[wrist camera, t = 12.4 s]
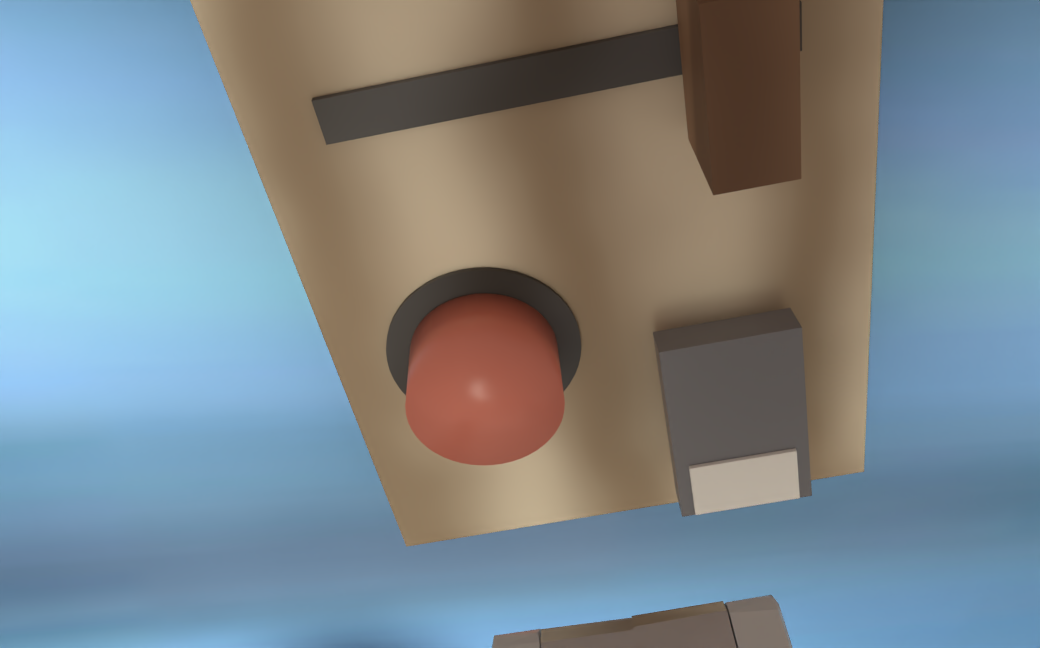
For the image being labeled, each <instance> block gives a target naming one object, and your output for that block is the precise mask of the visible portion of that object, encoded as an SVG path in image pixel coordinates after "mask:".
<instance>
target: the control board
mask: <svg viewBox="0 0 1040 648" xmlns="http://www.w3.org/2000/svg"><path fill="white" fill-rule="evenodd" d="M190 1H191V4H192V6H193V9H194V11H195V14H196V16H197V19H198V21H199V24H200V26H201V29H202V31H203V34H204V37H205V39H206V42H207V44H208V47H209V49H210V52H211V54H212V57H213V59H214V62H215V64H216V67H217V69H218V72H219V74H220V77H221V79H222V82H223V84H224V87H225V90H226V92H227V95H228V97H229V100H230V102H231V105H232V107H233V110H234V112H235V115H236V117H237V120H238V122H239V125H240V127H241V130H242V132H243V135H244V137H245V140H246V142H247V145H248V148H249V150H250V153H251V155H252V158H253V160H254V163H255V165H256V168H257V170H258V173H259V175H260V178H261V180H262V183H263V185H264V188H265V190H266V193H267V195H268V198H269V201H270V203H271V206H272V208H273V211H274V213H275V216H276V218H277V221H278V223H279V226H280V228H281V231H282V233H283V236H284V238H285V241H286V243H287V246H288V248H289V251H290V253H291V256H292V259H293V261H294V264H295V266H296V269H297V271H298V274H299V276H300V279H301V281H302V284H303V286H304V289H305V291H306V294H307V296H308V299H309V301H310V304H311V306H312V309H313V312H314V314H315V317H316V319H317V322H318V324H319V327H320V329H321V332H322V334H323V337H324V339H325V342H326V344H327V347H328V349H329V352H330V354H331V357H332V359H333V362H334V365H335V367H336V370H337V372H338V375H339V377H340V380H341V382H342V385H343V387H344V390H345V392H346V395H347V397H348V400H349V402H350V405H351V407H352V410H353V412H354V415H355V417H356V420H357V423H358V425H359V428H360V430H361V433H362V435H363V438H364V440H365V443H366V445H367V448H368V450H369V453H370V455H371V458H372V460H373V463H374V465H375V468H376V470H377V473H378V476H379V478H380V481H381V483H382V486H383V488H384V491H385V493H386V496H387V498H388V501H389V503H390V506H391V508H392V511H393V513H394V516H395V518H396V521H397V523H398V526H399V528H400V531H401V534H402V536H403V539H404V541H405V544H406V546H412V545H418V544H425V543H431V542H437V541H443V540H449V539H455V538H461V537H467V536H473V535H479V534H486V533H492V532H498V531H504V530H510V529H516V528H522V527H528V526H534V525H541V524H547V523H553V522H559V521H565V520H571V519H577V518H583V517H589V516H595V515H602V514H608V513H614V512H620V511H626V510H632V509H638V508H644V507H650V506H657V505H663V504H669V503H675V502H678V498H677V494H676V489H675V482H674V475H673V468H672V461H671V455H670V448H669V441H668V434H667V427H666V420H665V413H664V406H663V399H662V393H661V386H660V379H659V372H658V365H657V358H656V351H655V344H654V337H653V332H656V331H662V330H667V329H673V328H678V327H684V326H690V325H695V324H701V323H707V322H712V321H718V320H723V319H729V318H735V317H740V316H746V315H752V314H757V313H763V312H768V311H774V310H780V309H785V308H791V310H792V311H793V313H794V315H795V317H796V318H797V320H798V322H799V323H800V325H801V327H802V336H803V353H804V370H805V387H806V405H807V422H808V439H809V456H810V474H811V480H815V479H821V478H827V477H834V476H840V475H846V474H852V473H858V472H864V458H865V433H866V409H867V385H868V361H869V337H870V312H871V288H872V264H873V240H874V216H875V191H876V167H877V143H878V119H879V95H880V70H881V46H882V22H883V0H799V9H800V95H801V179H799V180H793V181H788V182H783V183H777V184H772V185H767V186H761V187H756V188H751V189H745V190H740V191H735V192H729V193H724V194H719V195H713V194H712V191H711V189H710V187H709V185H708V182H707V180H706V178H705V176H704V173H703V171H702V169H701V167H700V164H699V162H698V160H697V158H696V155H695V153H694V151H693V149H692V146H691V144H690V142H689V140H688V131H687V120H686V109H685V98H684V86H683V75H682V64H681V53H680V42H679V31H678V20H677V8H676V0H190ZM485 293H489V294H499V295H504V296H509V297H512V298H515V299H518V300H520V301H522V302H524V303H526V304H528V305H530V306H531V307H533V308H534V309H535V310H537V311H538V312H539V313H540V314H541V315H542V316H543V317H544V318H545V319H546V320H547V321H548V323H549V324H550V326H551V327H552V329H553V331H554V333H555V336H556V340H557V345H558V353H559V360H560V368H561V376H562V384H563V392H564V400H565V409H564V415H563V419H562V421H561V424H560V426H559V428H558V429H557V431H556V433H555V434H554V435H553V436H552V438H551V439H550V440H549V441H548V442H547V443H546V444H545V445H543V446H542V447H541V448H539V449H538V450H537V451H535V452H533V453H531V454H530V455H528V456H526V457H523V458H521V459H518V460H515V461H512V462H508V463H504V464H498V465H470V464H464V463H459V462H455V461H452V460H449V459H447V458H444V457H442V456H440V455H438V454H436V453H435V452H433V451H432V450H430V449H429V448H427V447H426V446H425V445H424V444H423V443H421V441H420V440H419V439H418V438H417V437H416V436H415V434H414V433H413V431H412V430H411V428H410V425H409V423H408V420H407V416H406V409H405V403H406V390H407V378H408V366H409V354H410V344H411V340H412V337H413V334H414V332H415V330H416V328H417V327H418V325H419V324H420V322H421V321H422V320H423V319H424V318H425V316H426V315H428V314H429V313H430V312H431V311H432V310H433V309H435V308H436V307H438V306H439V305H441V304H443V303H445V302H447V301H449V300H452V299H455V298H457V297H461V296H465V295H471V294H485Z"/></svg>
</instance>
